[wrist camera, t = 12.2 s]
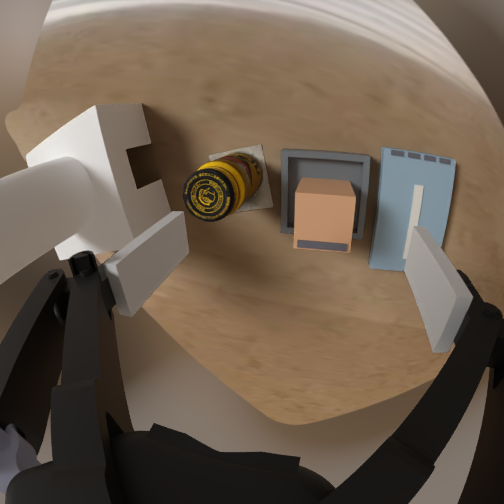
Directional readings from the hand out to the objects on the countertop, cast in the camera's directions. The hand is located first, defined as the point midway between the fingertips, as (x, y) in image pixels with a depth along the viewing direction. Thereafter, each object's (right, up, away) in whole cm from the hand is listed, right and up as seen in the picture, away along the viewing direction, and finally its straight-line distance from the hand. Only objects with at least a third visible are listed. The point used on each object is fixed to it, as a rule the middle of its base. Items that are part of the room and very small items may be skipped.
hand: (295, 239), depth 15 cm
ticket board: (+19, +5, +17) cm, 26 cm away
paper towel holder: (-25, +12, +26) cm, 38 cm away
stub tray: (+7, +7, +20) cm, 22 cm away
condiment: (-4, +9, +22) cm, 24 cm away
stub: (+7, +6, +20) cm, 21 cm away
